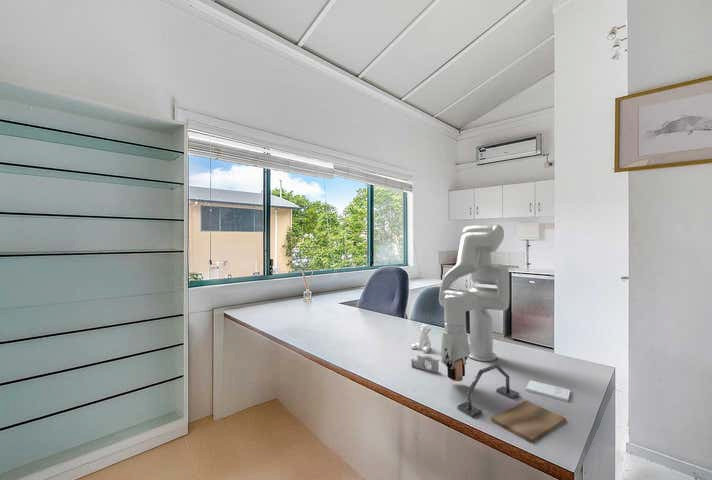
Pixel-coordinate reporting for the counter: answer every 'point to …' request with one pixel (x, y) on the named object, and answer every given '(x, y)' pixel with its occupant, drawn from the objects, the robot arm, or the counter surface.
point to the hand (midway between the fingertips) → (456, 376)
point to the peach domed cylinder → (458, 370)
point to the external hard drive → (548, 390)
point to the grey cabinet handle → (502, 390)
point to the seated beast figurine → (423, 340)
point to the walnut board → (528, 420)
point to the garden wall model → (421, 363)
